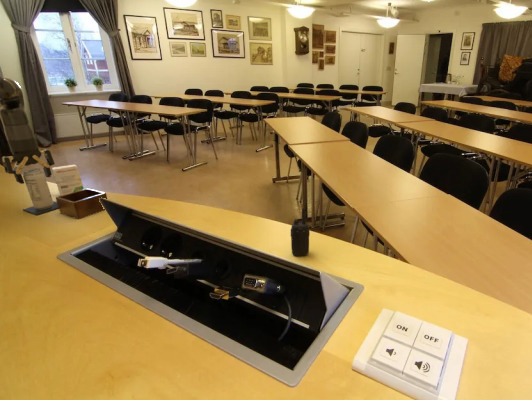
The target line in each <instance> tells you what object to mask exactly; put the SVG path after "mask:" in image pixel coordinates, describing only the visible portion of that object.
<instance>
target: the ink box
mask: <svg viewBox="0 0 532 400" xmlns="http://www.w3.org/2000/svg"><path fill="white" fill-rule="evenodd" d="M51 171H52V175H53V177H54V179H55V183H56V187H57V189H58V192H59V195H60V196H63V195H66V194H69V193H73V192H76V191H80V190H83V189H85V188H84V184H83V181H82V178H81V173H80V170H79V167H78V165H77V164H69V165H62V166H55V167H51Z"/></svg>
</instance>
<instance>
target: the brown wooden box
mask: <svg viewBox="0 0 532 400" xmlns="http://www.w3.org/2000/svg"><path fill="white" fill-rule="evenodd" d="M101 197H102V198H106V199H108V196H107V193H106V192H105V191H100V190H96V189H93V188H89V187H87V188H84V189H83V190H80V191H76V192H73V193H69V194H66V195H62V196H61V195H60V196H59V195H58V196H55V202H57V204H58V207H59V209H58V210H59V213H60V214H62V215H64V216H67V217H70V218H73V217H75V218H74V219H76V218H78V219H77V220H80V219H83V218H86V217H88V215H89V216H91V215H94V214H97V213H100V212H102V211H101V210H103V207H102V205H101V203H100V202H99V198H101ZM99 211H100V212H99ZM103 211H104V210H103ZM96 212H97V213H96ZM93 213H94V214H93ZM90 214H91V215H90ZM85 216H86V217H85ZM82 217H83V218H82ZM79 218H80V219H79Z"/></svg>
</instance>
